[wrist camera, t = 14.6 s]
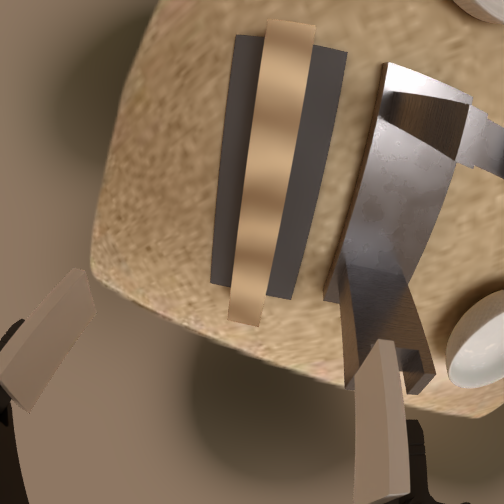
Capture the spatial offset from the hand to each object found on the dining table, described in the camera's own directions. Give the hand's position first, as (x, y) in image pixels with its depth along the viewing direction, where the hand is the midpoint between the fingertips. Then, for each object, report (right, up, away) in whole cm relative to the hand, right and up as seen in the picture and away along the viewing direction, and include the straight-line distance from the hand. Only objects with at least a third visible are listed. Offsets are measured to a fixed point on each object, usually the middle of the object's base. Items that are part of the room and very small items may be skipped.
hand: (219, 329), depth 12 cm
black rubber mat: (+3, +10, +17) cm, 20 cm away
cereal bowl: (+36, -6, +22) cm, 42 cm away
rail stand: (+16, +9, +16) cm, 24 cm away
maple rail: (+3, +10, +17) cm, 20 cm away
